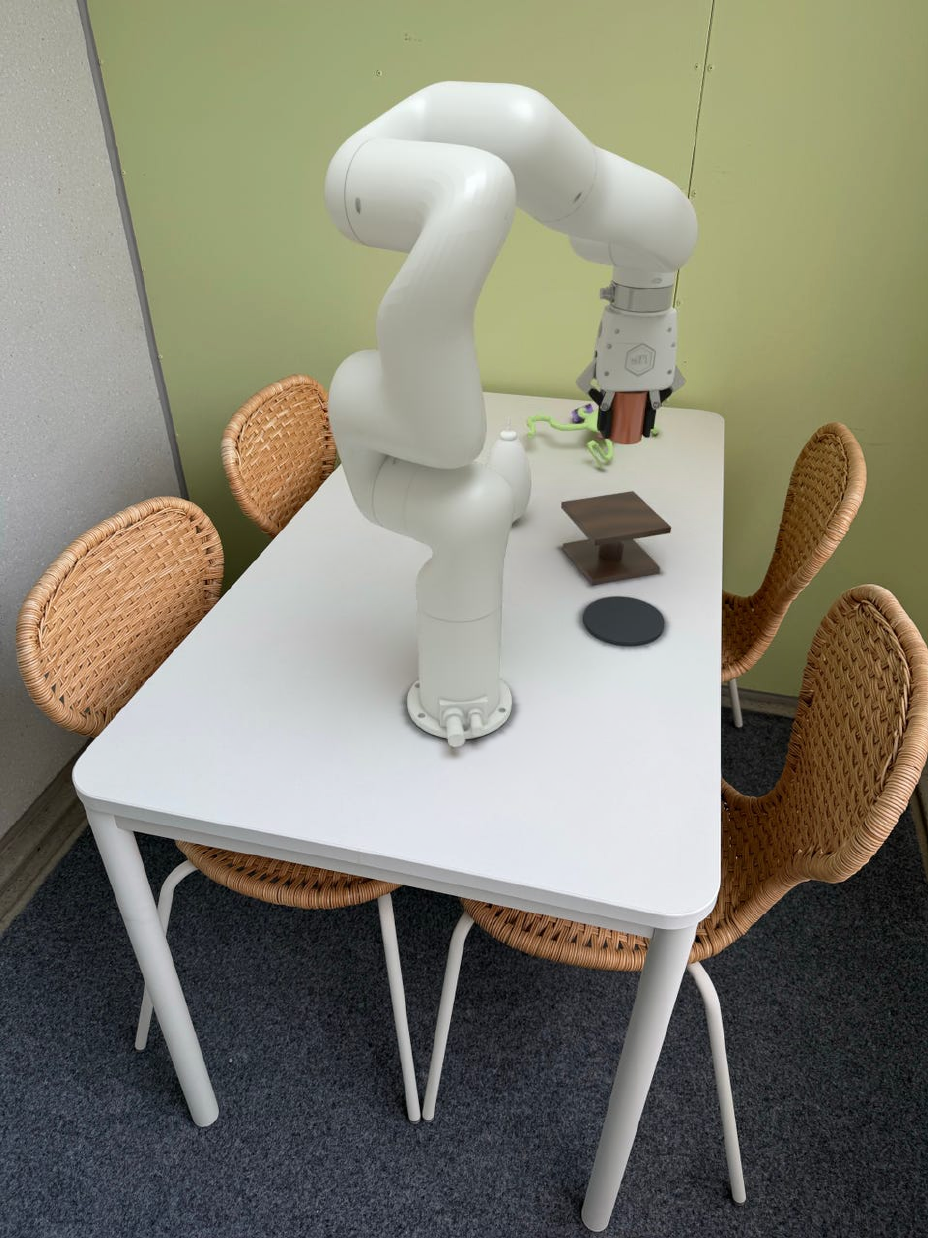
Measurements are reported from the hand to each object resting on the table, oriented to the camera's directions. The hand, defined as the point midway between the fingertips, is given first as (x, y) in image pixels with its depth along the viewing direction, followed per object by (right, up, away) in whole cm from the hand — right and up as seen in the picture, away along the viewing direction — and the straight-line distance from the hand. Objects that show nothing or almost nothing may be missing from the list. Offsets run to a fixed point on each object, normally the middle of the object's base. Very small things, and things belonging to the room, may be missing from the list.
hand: (624, 433), depth 119 cm
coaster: (0, -26, 0) cm, 26 cm away
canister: (0, 0, 0) cm, 1 cm away
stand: (0, -17, +13) cm, 21 cm away
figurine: (+3, +9, +50) cm, 51 cm away
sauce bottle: (-15, -9, +24) cm, 30 cm away
